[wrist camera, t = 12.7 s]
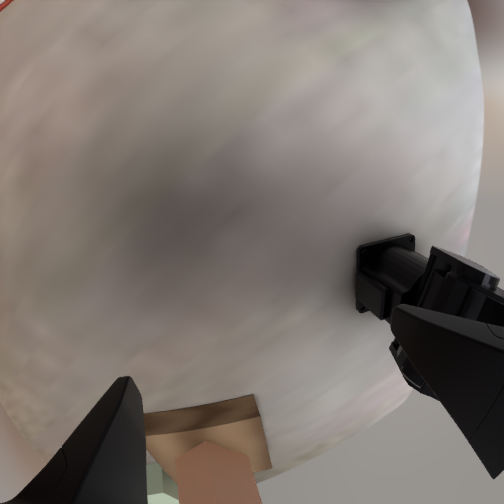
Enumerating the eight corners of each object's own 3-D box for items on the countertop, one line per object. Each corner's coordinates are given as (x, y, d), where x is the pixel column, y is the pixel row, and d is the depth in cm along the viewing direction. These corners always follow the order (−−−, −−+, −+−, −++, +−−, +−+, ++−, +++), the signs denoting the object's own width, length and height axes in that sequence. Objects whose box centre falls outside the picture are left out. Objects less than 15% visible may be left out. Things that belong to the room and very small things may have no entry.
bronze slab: (253, 394, 26) (260, 416, 23) (266, 450, 30) (272, 468, 28) (138, 414, 24) (136, 436, 22) (175, 466, 28) (177, 484, 26)
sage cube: (161, 461, 28) (163, 492, 23) (183, 475, 30) (187, 504, 25) (132, 467, 28) (132, 497, 23) (155, 481, 29) (157, 509, 25)
